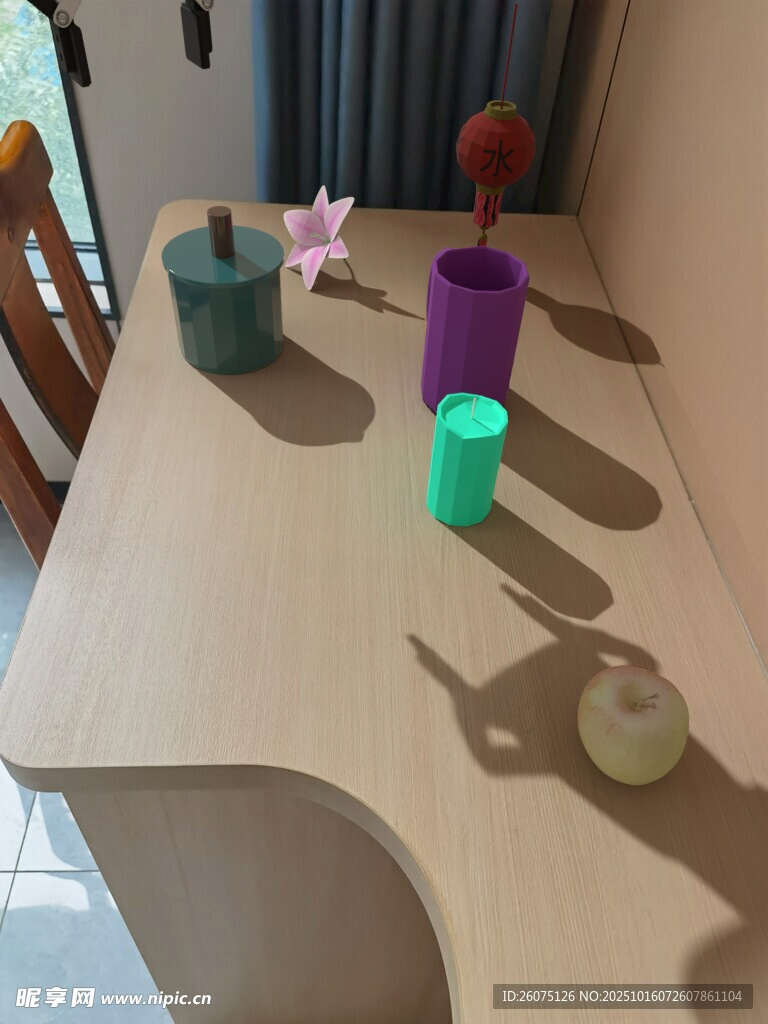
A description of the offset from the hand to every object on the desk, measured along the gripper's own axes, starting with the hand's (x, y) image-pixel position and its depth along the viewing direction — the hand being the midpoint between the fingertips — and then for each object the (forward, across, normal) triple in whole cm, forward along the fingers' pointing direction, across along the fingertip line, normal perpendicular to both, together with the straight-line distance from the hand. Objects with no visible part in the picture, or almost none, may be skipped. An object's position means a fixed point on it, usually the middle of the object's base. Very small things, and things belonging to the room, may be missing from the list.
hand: (141, 72), depth 63 cm
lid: (+20, -8, -5) cm, 22 cm away
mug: (+31, -25, +13) cm, 41 cm away
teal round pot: (+30, -8, -5) cm, 32 cm away
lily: (+31, -25, -15) cm, 42 cm away
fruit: (+31, -8, +54) cm, 63 cm away
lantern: (+31, -43, -5) cm, 53 cm away
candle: (+31, -14, +29) cm, 44 cm away
